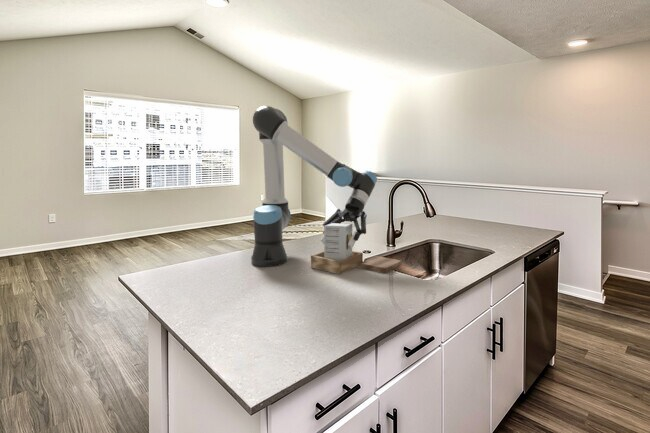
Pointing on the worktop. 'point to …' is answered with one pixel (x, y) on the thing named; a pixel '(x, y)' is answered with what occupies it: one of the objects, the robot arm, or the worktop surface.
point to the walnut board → (380, 264)
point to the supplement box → (337, 241)
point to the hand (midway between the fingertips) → (335, 244)
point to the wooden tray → (336, 262)
